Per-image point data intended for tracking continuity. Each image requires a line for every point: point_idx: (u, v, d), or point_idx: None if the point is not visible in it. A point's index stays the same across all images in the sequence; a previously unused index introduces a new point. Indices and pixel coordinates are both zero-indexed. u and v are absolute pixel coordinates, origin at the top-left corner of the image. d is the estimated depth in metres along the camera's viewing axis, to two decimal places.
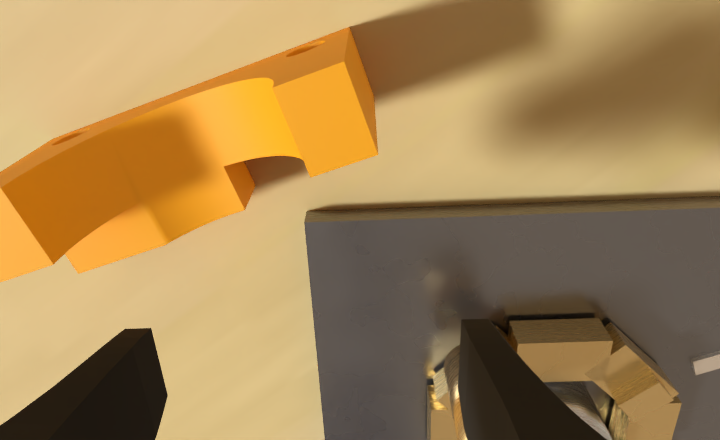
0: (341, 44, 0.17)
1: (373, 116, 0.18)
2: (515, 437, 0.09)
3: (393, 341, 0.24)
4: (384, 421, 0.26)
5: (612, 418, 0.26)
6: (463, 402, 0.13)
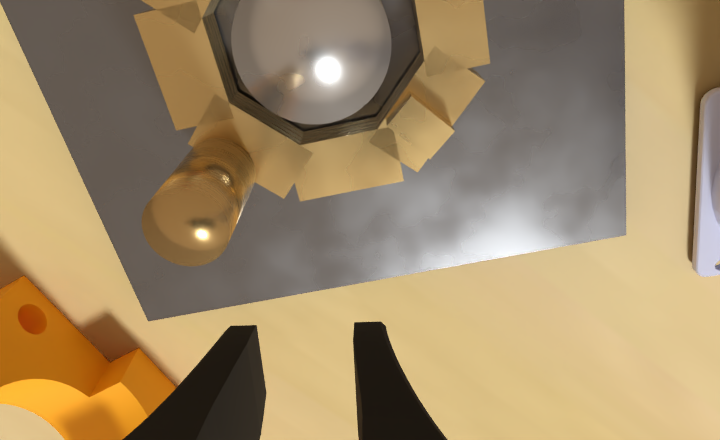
0: None
1: None
2: None
3: (256, 228, 0.22)
4: (374, 216, 0.22)
5: None
6: None
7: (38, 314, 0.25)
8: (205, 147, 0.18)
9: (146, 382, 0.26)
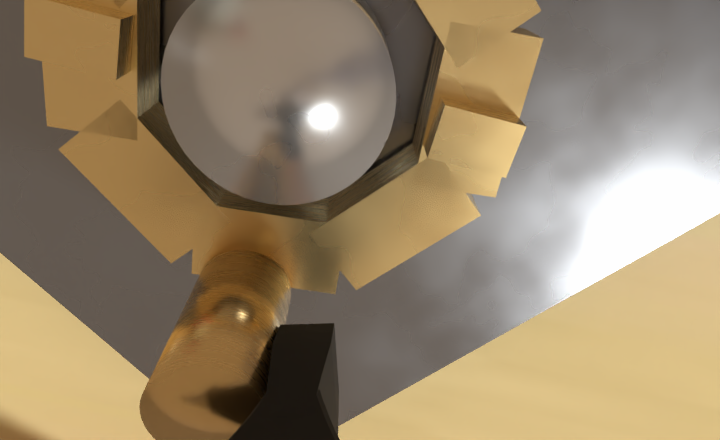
0: None
1: None
2: None
3: None
4: (467, 261, 0.16)
5: None
6: None
7: None
8: (207, 275, 0.13)
9: None
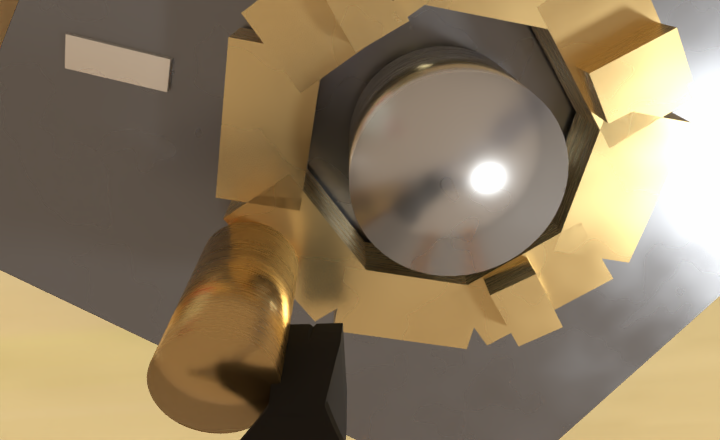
0: None
1: None
2: None
3: (526, 357, 0.18)
4: (645, 257, 0.16)
5: None
6: None
7: None
8: (254, 242, 0.13)
9: None
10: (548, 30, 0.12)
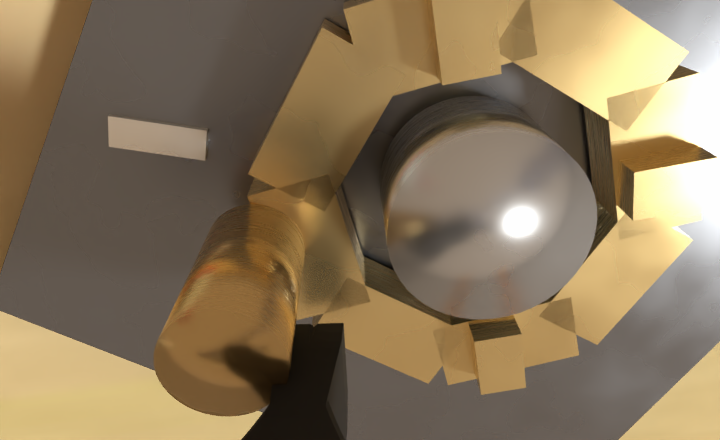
0: None
1: None
2: None
3: (565, 379, 0.18)
4: (676, 277, 0.17)
5: None
6: None
7: None
8: (277, 230, 0.13)
9: None
10: (608, 121, 0.13)
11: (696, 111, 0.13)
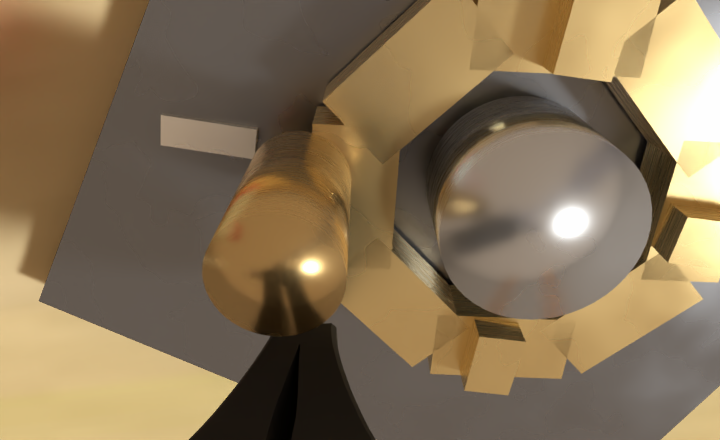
0: None
1: None
2: None
3: (605, 381, 0.18)
4: None
5: (629, 114, 0.14)
6: None
7: None
8: (338, 166, 0.12)
9: None
10: (675, 163, 0.13)
11: None
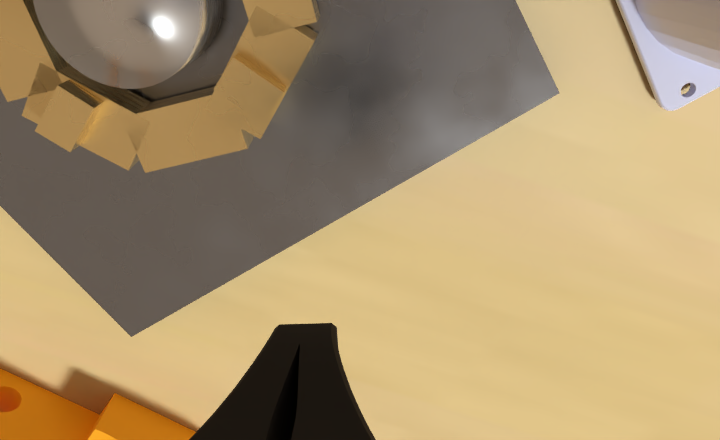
0: None
1: None
2: None
3: (185, 214, 0.22)
4: (290, 164, 0.21)
5: None
6: None
7: (13, 393, 0.27)
8: None
9: (127, 421, 0.27)
10: (248, 21, 0.17)
11: (300, 65, 0.18)
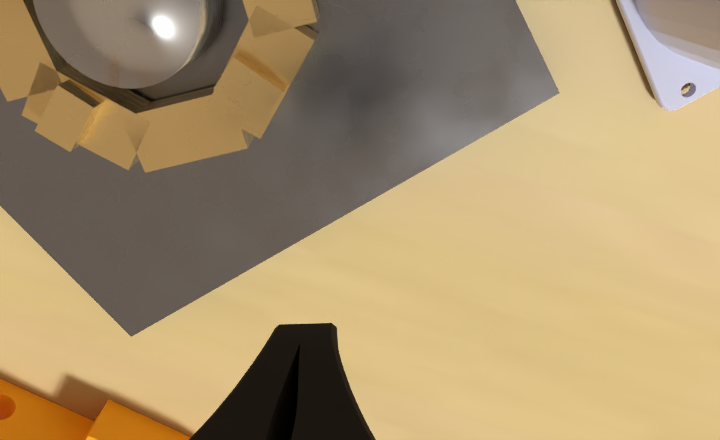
0: None
1: None
2: None
3: (185, 214, 0.22)
4: (290, 164, 0.21)
5: None
6: None
7: (7, 400, 0.27)
8: None
9: (121, 428, 0.27)
10: (248, 21, 0.17)
11: (300, 65, 0.18)
